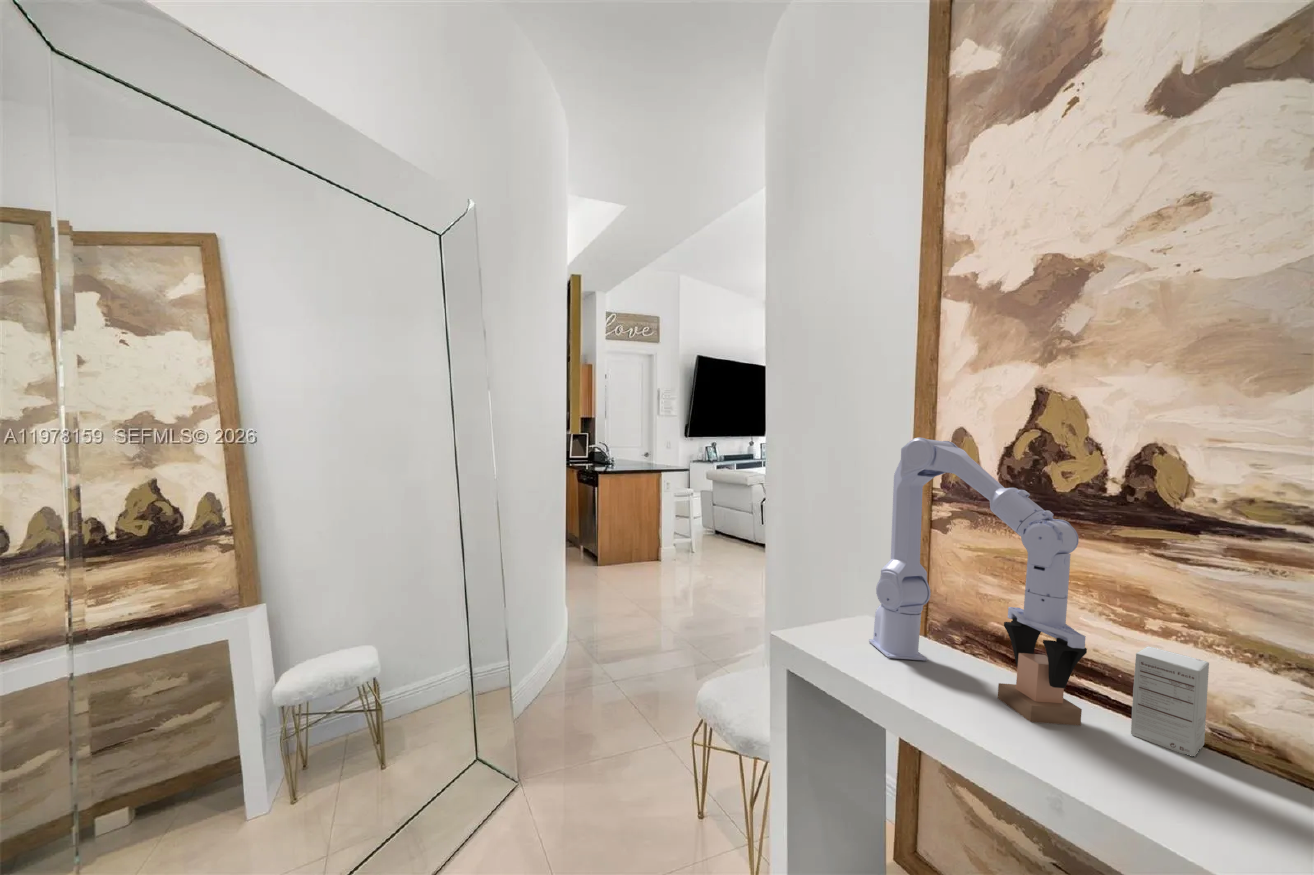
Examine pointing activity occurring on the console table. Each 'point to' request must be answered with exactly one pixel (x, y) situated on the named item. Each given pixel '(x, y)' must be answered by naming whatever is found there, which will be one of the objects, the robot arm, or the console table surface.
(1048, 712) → the walnut block
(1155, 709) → the supplement box
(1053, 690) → the cube
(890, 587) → the robot arm
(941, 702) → the console table surface
